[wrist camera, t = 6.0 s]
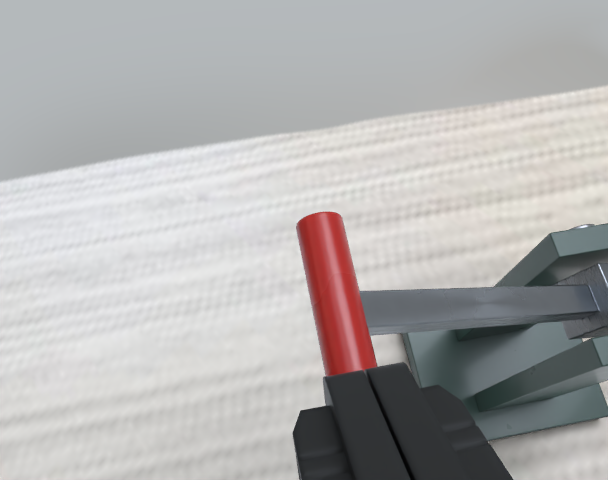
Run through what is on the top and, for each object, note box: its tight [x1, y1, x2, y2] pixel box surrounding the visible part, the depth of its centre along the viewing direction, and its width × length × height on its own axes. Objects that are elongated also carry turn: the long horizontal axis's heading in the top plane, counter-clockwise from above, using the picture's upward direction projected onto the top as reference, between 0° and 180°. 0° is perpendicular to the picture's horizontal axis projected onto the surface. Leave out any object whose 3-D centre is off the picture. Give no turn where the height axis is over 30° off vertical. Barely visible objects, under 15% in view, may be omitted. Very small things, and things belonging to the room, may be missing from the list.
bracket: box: [402, 223, 608, 441], centre depth 27 cm, size 10×8×14 cm
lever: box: [296, 212, 608, 376], centre depth 19 cm, size 14×6×2 cm, turn 100°
